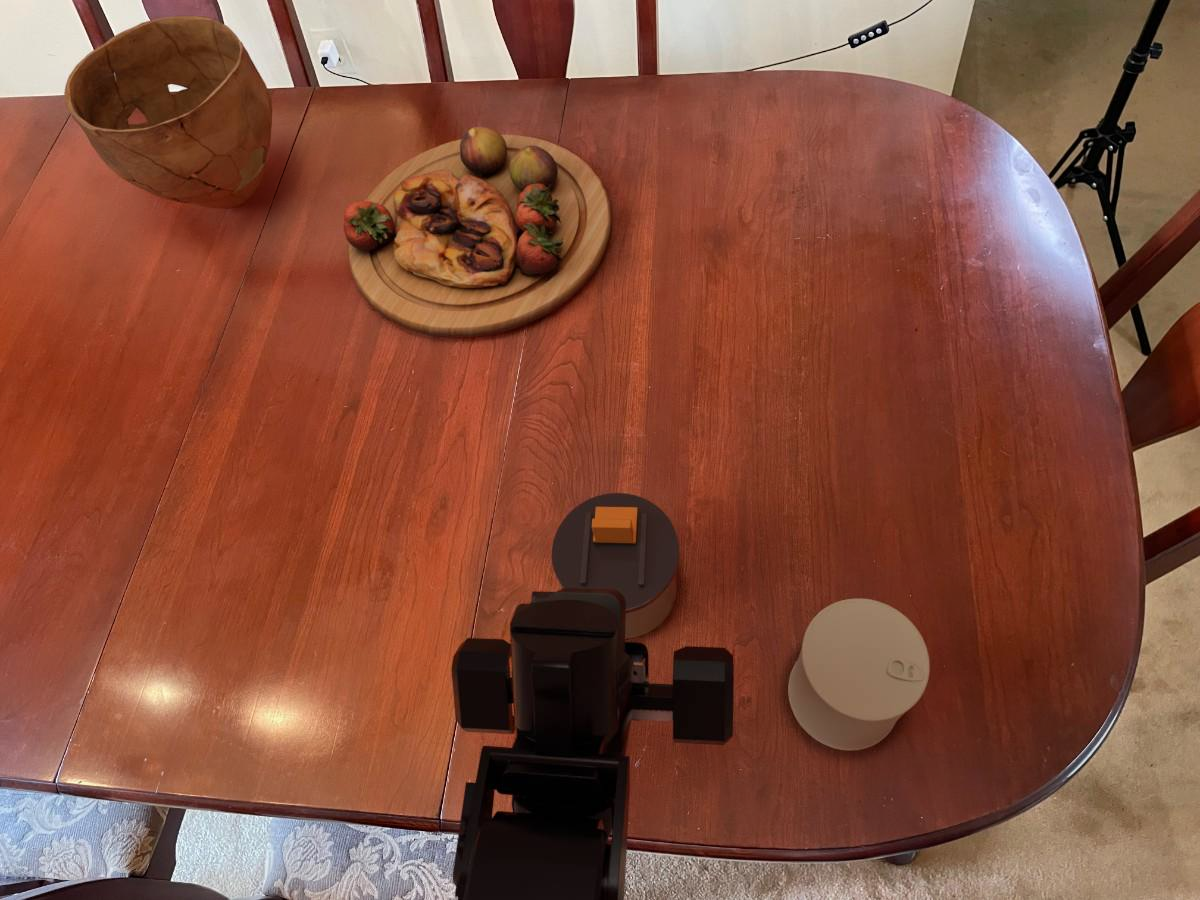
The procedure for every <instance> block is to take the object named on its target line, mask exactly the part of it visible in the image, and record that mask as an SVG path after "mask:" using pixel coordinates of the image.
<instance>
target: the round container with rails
mask: <svg viewBox="0 0 1200 900" xmlns="http://www.w3.org/2000/svg"><path fill="white" fill-rule="evenodd" d="M596 507H637V508H638V514H637V533H636V543H595V542H593V535H594V533H593V530H592V519H595V510H596ZM678 538H679V537H678V535H677V531H676V528H675V526H674V524H673V523H672V521H671V520H670V518H669V517H668V515H667V514H666V513H665V512H664V510H662V509H661V508H660V507H659V506H657V505H656V504H655V503H653V502H652V501H650V500H648V499H646V498H644V497H641V496H639V495H635V494H631V493H626V492H610V493H604V494H600V495H596V496H593V497H590V498H588V499H587V500H585V501H582V502H581V503H579V504H578V505H577V506H575V507H573V509H572V510H570V511H569V513H568V514H567V515H566V516H565V517H564V518H563V520H562V521H561V523H560V524H559V525H558V528H557V529H556V532H555V534H554V538H553V541H552V545H551V563H552V568H553V572H554V574H555V577H556V579H557V582H558V584H559V585H560V587H561V589H564V588H581V589H614V590H617V591H619V592H620V593H621V594H622V595H623V596H624V598H625V601H626V626H625V640H626V639H633V638H638V637H640V636H643V635H646V634H649V633H650V632H652V631H654V630H655V629H656V628H658V627H659V626H660V625H661V624H662V623H663V622H664V621H665V620H666V619H667V617H668V616H669V614H670V613H671V612H672V609H673V608H674V605H675V602H676V598H677V594H678V578H677V570H678V566H679V561H680V544H679V539H678Z"/></svg>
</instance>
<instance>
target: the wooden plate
mask: <svg viewBox="0 0 1200 900" xmlns="http://www.w3.org/2000/svg"><path fill="white" fill-rule="evenodd" d="M612 219H613V215H612V207H611V201H610V198H609V194H608V191H607V189H606V188H605V186H604V183H603V182H602V180H601V179H600V177H599V176H598V174H597V173H596V171H594V169H593V168H591V166H590V165H589V164H588V163H587V162H586V161H585V160H584V159H582V158H581V157H580V156H578V155H577V154H575V153H574V152H572V151H570V150H568V149H566V148H564V147H562V146H560V145H558V144H557V143H553V142H551V141H547V140H545V139H541V138H537V137H532V136H531V137H530V136H526V135H525V136H524V135H516V134H501V133H500V132H498V131H497V130H496V129H494V128H491V127H488V126H486V125H475V126H471V128H469V129H467V131H466V132H465V133H464V134H463V136H462V138H460V139H457V140H452V141H449V142H446V143H442V144H440V145H438V146H435V147H432V148H429V149H428V150H426V151H423V152H421V153H419V154H417V155H415V156H413V157H412V158H410V159H407V160H406V161H405V162H403V163H402V164H400V165H399V166H398V167H396V168H395V169H394V170H392V171H391V172H389V173H388V174H387V175H386V176H385V177H384V178H383V179H382V180H381V181H379V183H377V184H376V186H375V187H374V188H373V189H372V190H371V191H370V192H369V194H368V195H367V197H365V199H364V200H359V201H356V202H353V203H351V204H349V205H348V207H347V208H346V209H345V212H344V215H343V222H344V223H343V232H344V235H345V239H346V240H347V242H348V247H347V248H348V249H347V250H348V251H347V252H348V264H349V269H350V272H351V276H352V278H353V280H354V283H355V284H356V286H357V288H358V290H359V292H360V294H361V295H362V296H363V298H364V299H365V300H366V302H367V303H368V304H369V305H370V306H371V307H372V308H373V309H374V310H375V311H377V312H378V313H379V314H381V315H382V316H383V317H385V318H386V319H388V320H390V321H392V322H393V323H395V324H396V325H399V326H401V327H403V328H405V329H408V330H411V331H413V332H417V333H421V334H424V335H429V336H434V337H435V336H436V337H444V338H455V339H456V338H473V337H484V336H490V335H497V334H500V333H504V332H508V331H511V330H514V329H517V328H520V327H522V326H526V325H527V324H530V323H532V322H534V321H536V320H538V319H540V318H543V317H544V316H546V315H548V314H550V313H551V312H553V311H554V310H556V309H557V308H559V307H561V306H562V305H563V304H565V303H566V302H567V301H569V299H570V298H572V297H573V296H574V295H575V294H576V293H577V292H579V290H581V288H582V287H583V286H584V285H585V284H586V283H587V282H588V280H590V278H591V277H592V276H593V274H594V273H595V271H596V270H597V268H598V267H599V265H600V263H601V261H602V259H603V258H604V255H605V253H606V250H607V247H608V244H609V241H610V237H611V233H612V221H613V220H612Z"/></svg>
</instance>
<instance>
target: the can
mask: <svg viewBox="0 0 1200 900" xmlns="http://www.w3.org/2000/svg"><path fill="white" fill-rule="evenodd" d="M930 666H931V665H930V656H929V650H928V648H927V644H926V642H925V640H924V638H923V636H922V634H921V633H920V631H919V629H918V628H917V627H916V626H915V625H914V623H913V622H912V621H911V620H910V619H909V618H908V617H907V616H906V615H904V614H903V613H902V612H900V611H899V610H898V609H896V608H895V607H893V606H891V605H889V604H887V603H884V602H882V601H879V600H874V599H870V598H861V597H859V598H858V597H857V598H847V599H843V600H839V601H836V602H833V603H831V604H829V605H828V606H825V608H823V609H821V610H820V611H819V612H818V613H817V614H816V615H815V616H814V617H813V619H812V620H811V621H810V623H809V624H808V625H807V627H806V630H805V632H804V635H803V639H802V643H801V649H800V652H799V655H798V658H797V660H796V662H795V663H794V665H793V667H792V669H791V672H790V675H789V679H788V685H787V687H788V688H787V694H788V701H789V705H790V709H791V710H792V713H793V715H794V717H795V719H796V721H797V722H798V724H799V725H800V727H801V728H802V729H803V730H804V731H805V732H806V733H807V734H808V735H809V736H810V737H812V738H813V739H814V740H815V741H816V742H819V743H820V744H823V745H824V746H827V747H829V748H832V749H835V750H840V751H851V752H852V751H860V750H865V749H868V748H871V747H873V746H875V745H876V744H879V743H880V742H881V741H883V740H884V739H885V738H886V737H887V736H888V735H889V734H890V733H891V731H892V730H893V728H894V727H895V725H896V723H897V721H899V720H900V718H901V717H902V716H903V715H904V714H905V713H907V712H908V711H910V709H912V708H913V706H915V705H916V704H917V703H918V702H919V700H920V699H921V697H922V696H923V694H924V692H925V690H926V687H927V685H928V682H929V679H930V669H931V667H930Z"/></svg>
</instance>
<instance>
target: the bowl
mask: <svg viewBox="0 0 1200 900" xmlns="http://www.w3.org/2000/svg"><path fill="white" fill-rule="evenodd" d="M170 85H174V86H179V87H182V88H184V89H180V90H178V91H177V92H175V93H174V94H173V93H171V91H170V88H169V86H170ZM63 93H64V94H63V95H64V102H65V107H66V110H67V112H68V113H69V115H70V116H71V117H72V118H73V120H74V121H75V122H76V123H77V124H78V126H79V127H80V128H81V130H82V131H83V133H84V134H85V136H86V137H87V139H88V141H89V143H90V145H91V147H92V148H93V150H94V151H95V153H96V154H97V155H98V157H100V159H101V160H102V162H103V163H104V164H105V165H106V166H107V167H108V168H109V169H110V170H111V171H112V172H113V173H115V174H116V175H117V176H118V177H119V178H121V179H122V180H124V181H125V182H127V183H129V184H130V185H133V186H135V187H137V188H139V189H141V190H143V191H145V192H146V193H149V194H150V195H154V196H156V197H159V198H161V199H164V200H166V201H171V202H176V203H181V204H190V205H195V206H199V207H203V208H209V209H218V210H219V209H220V210H227V209H232V208H236V207H239V206H241V205H242V204H244V203H245V202H246V201H248V200H249V199H250V198H251V197H252V196H253V194H254V193H255V192H256V190H257V188H258V186H259V185H260V184H261V183H260V182H261V179H262V177H263V173H264V169H265V166H266V163H267V159H268V156H269V152H270V149H271V139H272V127H273V105H272V104H273V103H272V98H271V94H270V91H269V89H268V86H267V84H266V82H265V81H264V79H263V77H262V76H261V73H260V72H259V70H258V69H257V66H256V65H255V63H254V61H253V59H252V58H251V56H250V54H249V52H248V50H247V49H246V47H245V46H244V43H243V42H242V41H241V39H239V37H238V35H237V34H236V32H234V31H233V30H232V29H231V28H230V27H229V26H228V25H226V24H224V23H222V22H220V21H218V20H216V19H215V18H214V17H213V18H212V17H209V16H203V15H202V16H201V15H199V16H198V15H169V16H163V17H160V18H156V19H150V20H146V21H144V22H140V23H138V24H136V25H135V26H132V27H130V28H127V29H125V30H123V31H121V32H119V33H117V34H115V35H114V36H112V37H110V38H109V39H108V40H107V41H105V42H104V43H103V44H101V45H99V46H98V47H96V48H95V49H93V50H92V51H91V52H88V53H87V54H86V56H84V57H83V58H82V59H81V60H80V61H79V62H78V63H77V64H75V66H74V68H73V69H72V70H71V72H70V74H69V75H68V77H67V80H66V83H65V86H64V92H63ZM136 109H138V110H139V112H140V113H141V114H142V115H143V117H144V118H145V120H146V122H141V123H133V124H132V123H129V120H128V119H129V118H130V117H131V116H132V114H133V112H134V111H135V110H136ZM193 175H195V176H193Z"/></svg>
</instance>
